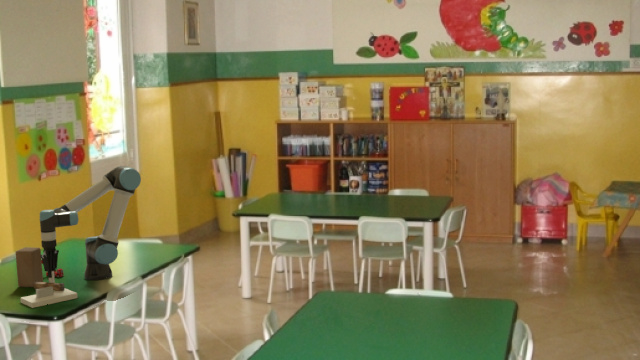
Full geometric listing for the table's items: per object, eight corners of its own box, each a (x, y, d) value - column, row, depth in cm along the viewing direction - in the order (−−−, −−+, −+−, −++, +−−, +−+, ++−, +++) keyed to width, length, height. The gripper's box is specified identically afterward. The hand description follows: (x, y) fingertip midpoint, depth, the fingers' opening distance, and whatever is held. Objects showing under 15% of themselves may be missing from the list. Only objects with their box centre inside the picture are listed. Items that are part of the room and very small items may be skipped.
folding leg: (65, 289, 446) (65, 283, 446) (62, 290, 444) (62, 284, 443) (38, 287, 452) (37, 281, 451) (34, 288, 449) (33, 282, 449)
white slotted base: (65, 292, 450) (64, 280, 449) (77, 297, 439) (76, 285, 439) (20, 302, 434) (19, 289, 433) (32, 307, 424) (31, 295, 423)
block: (34, 287, 462) (31, 251, 460) (17, 287, 464) (14, 251, 462) (43, 282, 472) (41, 247, 469) (27, 282, 474) (24, 247, 471)
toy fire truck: (61, 277, 483) (59, 260, 482) (40, 276, 488) (39, 259, 486) (64, 276, 486) (63, 259, 485) (44, 274, 491) (43, 258, 489)
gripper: (50, 236, 459) (53, 279, 462) (34, 241, 447) (38, 285, 450) (62, 237, 457) (65, 280, 460) (47, 242, 444) (50, 286, 448)
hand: (51, 283), depth 455 cm, fingers closed
